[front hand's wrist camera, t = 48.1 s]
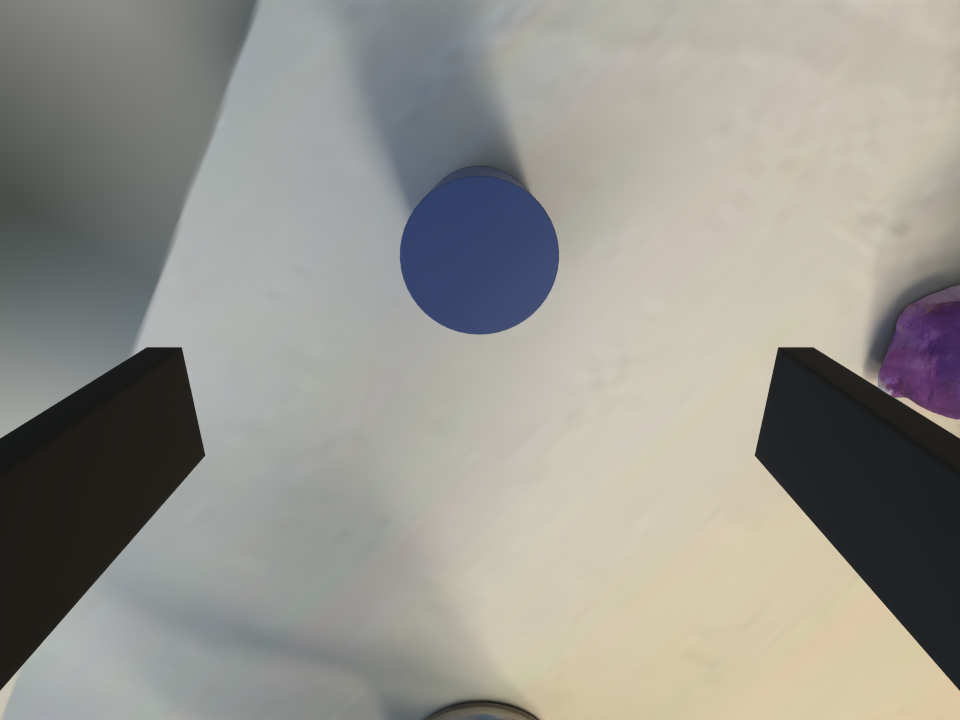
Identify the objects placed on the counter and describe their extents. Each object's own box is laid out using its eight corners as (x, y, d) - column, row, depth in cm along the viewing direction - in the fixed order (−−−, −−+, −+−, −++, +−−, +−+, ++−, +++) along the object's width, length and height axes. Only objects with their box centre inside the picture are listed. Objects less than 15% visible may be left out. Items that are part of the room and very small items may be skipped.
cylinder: (499, 304, 39) (505, 360, 29) (400, 248, 38) (372, 287, 28) (560, 206, 37) (590, 231, 27) (457, 141, 35) (448, 142, 25)
